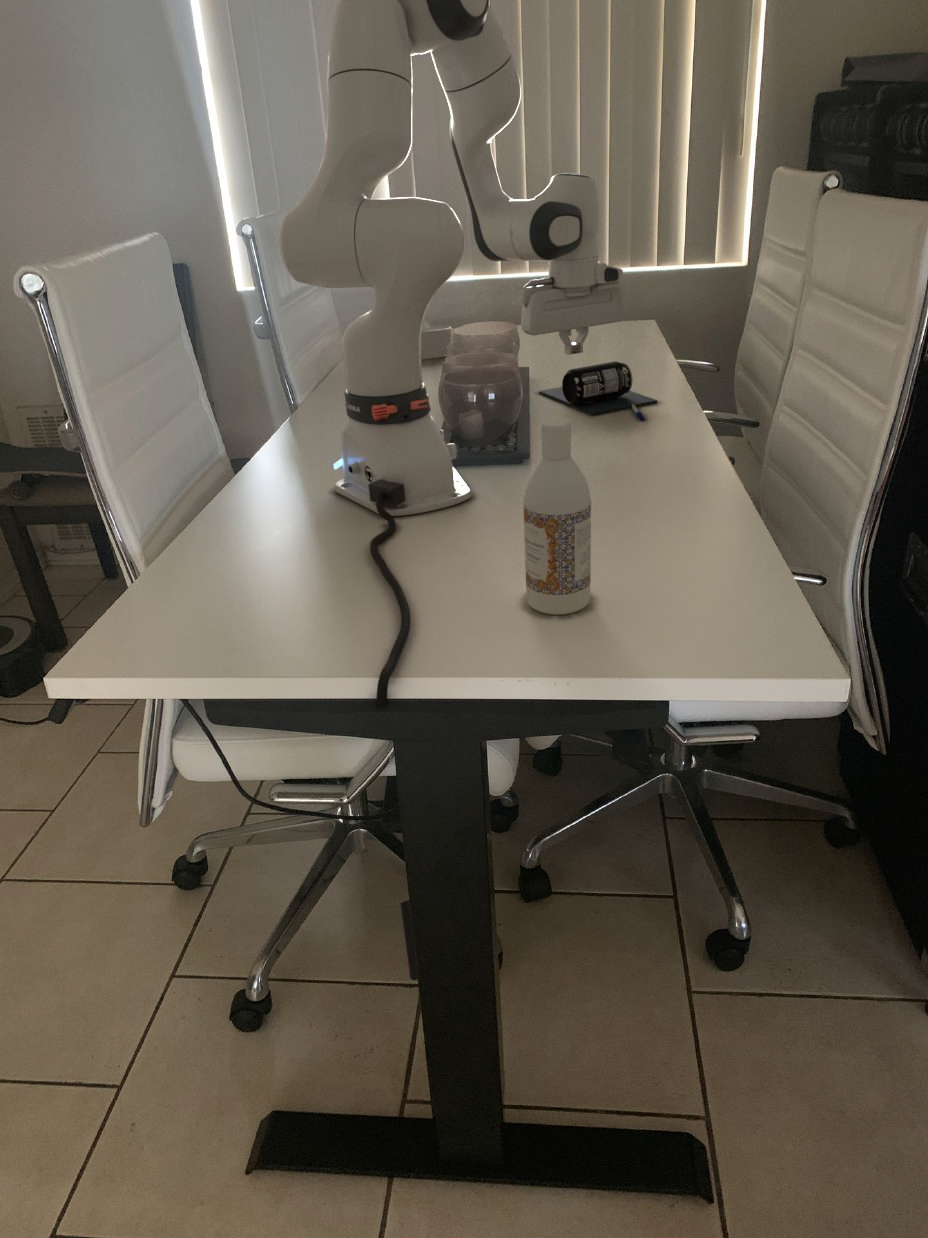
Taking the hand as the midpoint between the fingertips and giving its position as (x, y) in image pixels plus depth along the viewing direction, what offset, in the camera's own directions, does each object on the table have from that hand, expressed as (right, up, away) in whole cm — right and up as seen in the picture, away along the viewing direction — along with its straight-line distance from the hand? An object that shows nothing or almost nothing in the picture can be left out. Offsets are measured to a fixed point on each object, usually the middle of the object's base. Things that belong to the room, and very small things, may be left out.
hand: (573, 353), depth 164 cm
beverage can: (-1, -7, -1) cm, 7 cm away
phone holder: (-29, +17, +54) cm, 64 cm away
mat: (+5, -7, +6) cm, 10 cm away
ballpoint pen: (+11, -12, -4) cm, 17 cm away
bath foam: (-10, -48, -67) cm, 83 cm away
